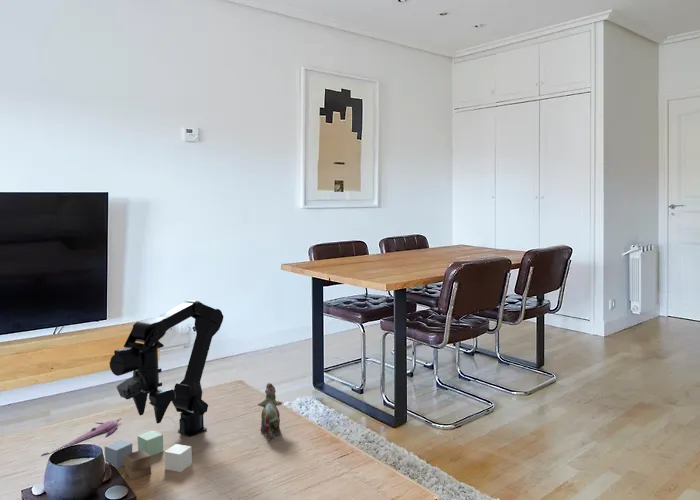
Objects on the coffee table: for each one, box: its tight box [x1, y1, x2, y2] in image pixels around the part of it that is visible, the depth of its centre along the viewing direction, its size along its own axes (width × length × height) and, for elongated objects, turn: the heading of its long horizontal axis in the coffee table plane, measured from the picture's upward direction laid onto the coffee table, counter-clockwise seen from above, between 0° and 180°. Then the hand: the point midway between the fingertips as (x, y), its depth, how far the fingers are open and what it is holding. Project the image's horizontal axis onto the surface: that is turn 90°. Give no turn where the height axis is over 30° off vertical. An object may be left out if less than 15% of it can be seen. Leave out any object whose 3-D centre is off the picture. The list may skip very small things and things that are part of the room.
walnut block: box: [124, 450, 152, 481], centre depth 147 cm, size 5×5×5 cm
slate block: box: [104, 439, 133, 469], centre depth 154 cm, size 5×5×5 cm
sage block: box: [137, 430, 164, 457], centre depth 160 cm, size 5×5×5 cm
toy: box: [40, 418, 123, 457], centre depth 169 cm, size 28×2×10 cm
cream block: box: [163, 443, 193, 473], centre depth 151 cm, size 5×5×5 cm
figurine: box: [257, 382, 283, 440], centre depth 172 cm, size 8×12×15 cm, turn 174°
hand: (149, 418), depth 159 cm, fingers open, 9 cm apart
